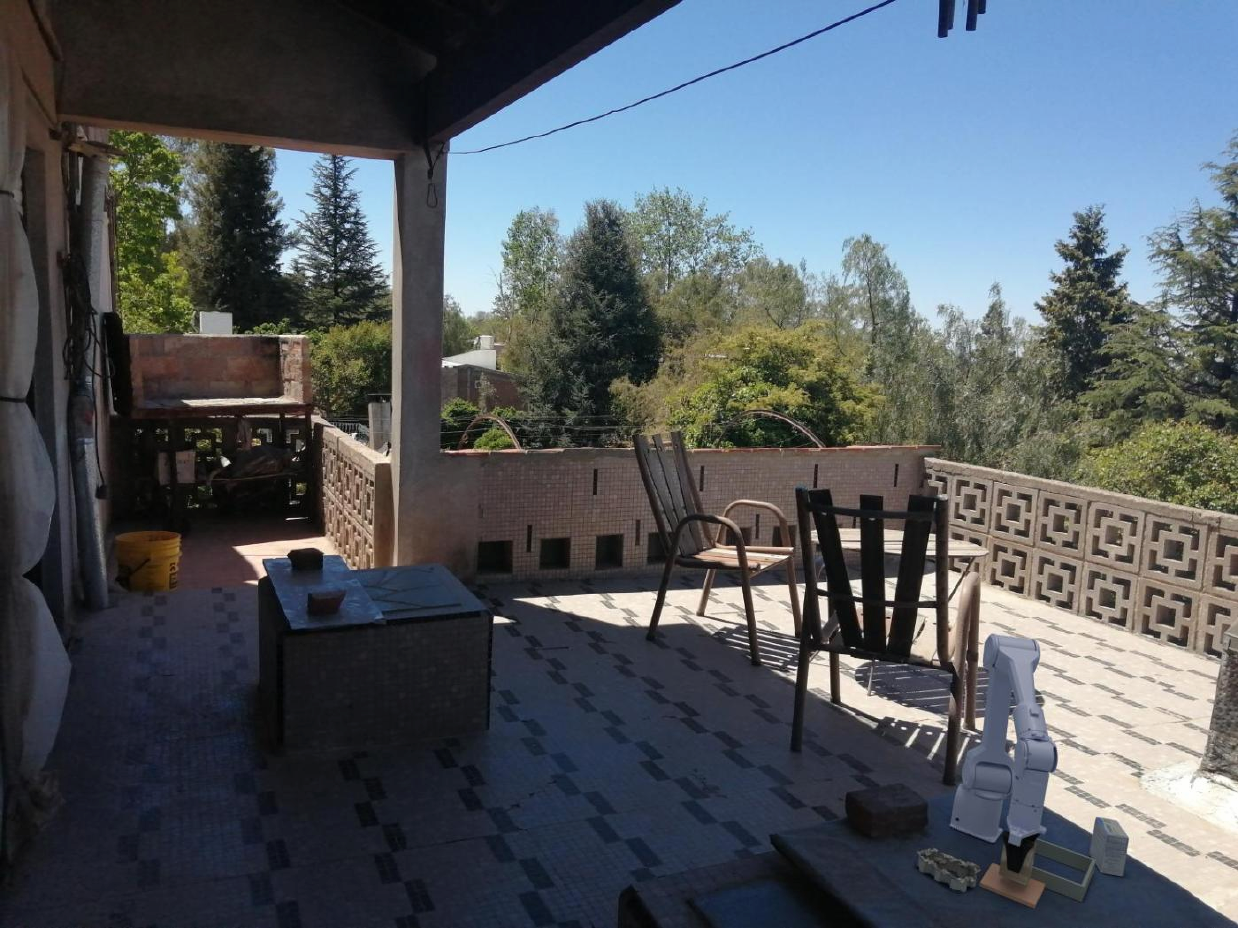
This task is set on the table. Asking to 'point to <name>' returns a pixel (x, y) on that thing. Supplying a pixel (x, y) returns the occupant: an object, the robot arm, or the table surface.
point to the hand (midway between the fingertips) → (1015, 866)
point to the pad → (1012, 887)
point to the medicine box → (1109, 846)
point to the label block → (1025, 870)
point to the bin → (1069, 859)
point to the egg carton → (942, 862)
